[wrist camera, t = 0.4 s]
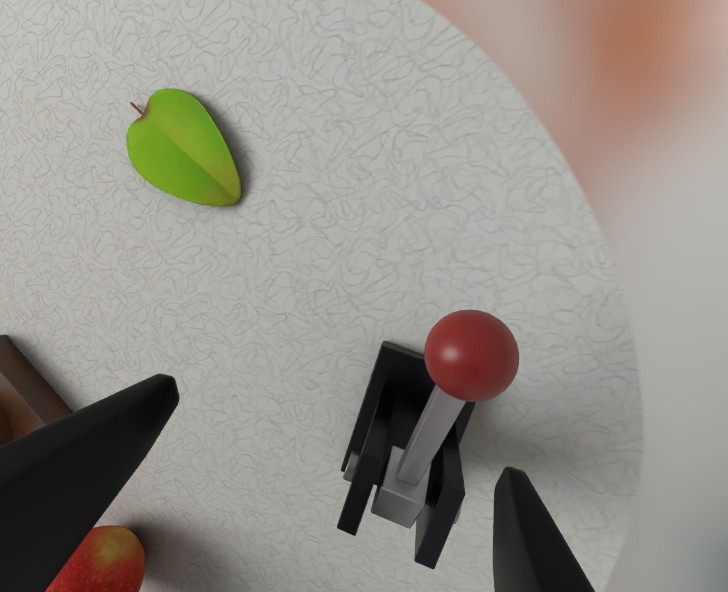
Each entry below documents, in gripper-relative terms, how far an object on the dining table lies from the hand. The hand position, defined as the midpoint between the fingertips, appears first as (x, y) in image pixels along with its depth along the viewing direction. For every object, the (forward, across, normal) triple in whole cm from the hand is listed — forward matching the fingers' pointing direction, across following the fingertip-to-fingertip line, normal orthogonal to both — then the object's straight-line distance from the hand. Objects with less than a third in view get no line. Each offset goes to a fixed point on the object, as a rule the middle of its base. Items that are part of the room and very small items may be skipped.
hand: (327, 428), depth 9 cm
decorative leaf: (+18, +16, -2) cm, 24 cm away
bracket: (+12, -3, +12) cm, 17 cm away
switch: (+6, -3, +5) cm, 9 cm away
